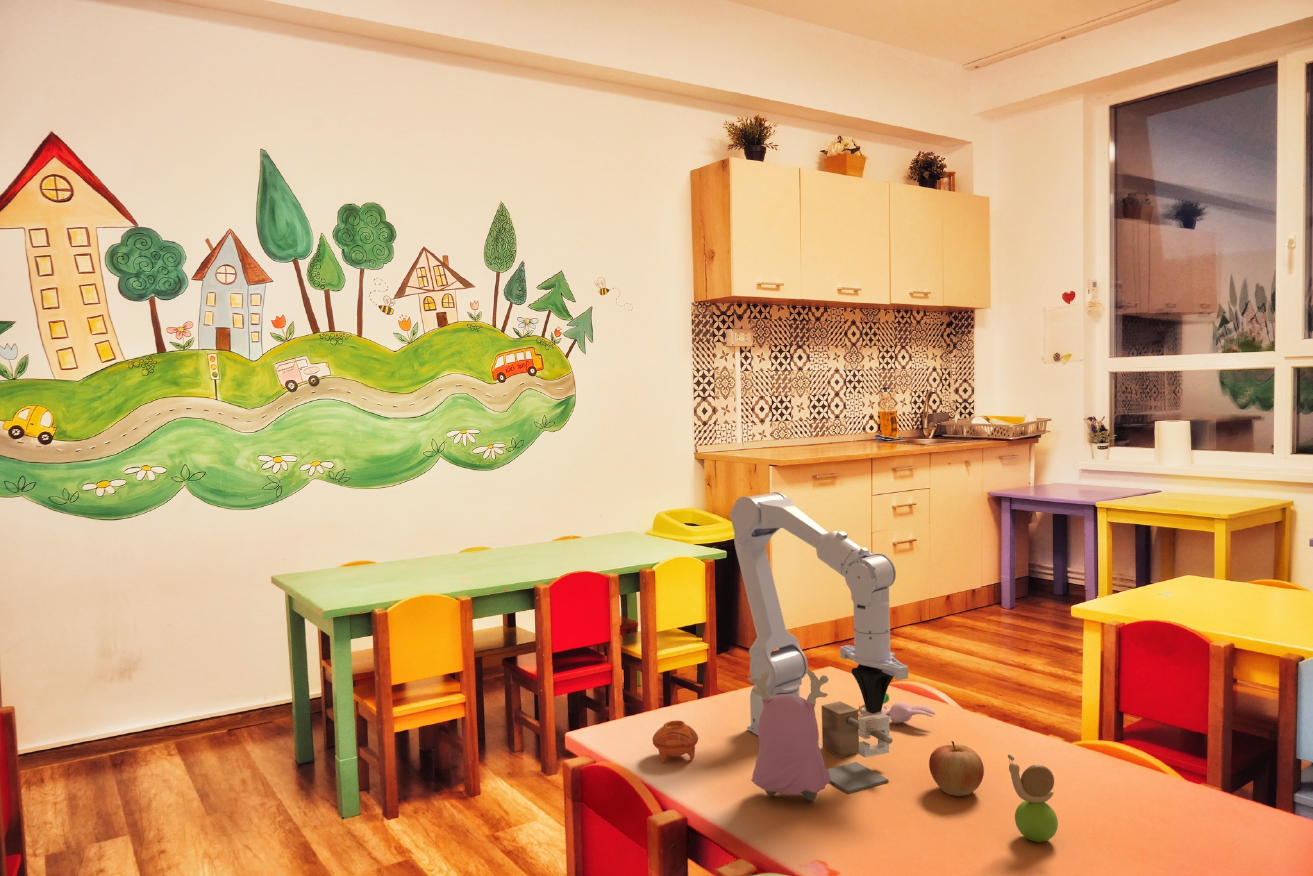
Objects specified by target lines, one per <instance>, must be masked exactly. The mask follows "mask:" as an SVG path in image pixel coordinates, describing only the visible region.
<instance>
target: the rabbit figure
mask: <svg viewBox="0 0 1313 876" xmlns="http://www.w3.org/2000/svg"><path fill="white" fill-rule="evenodd" d="M889 700H890V695H889V694H888V693H887V692H886V694H885V698H884V702H883V705H884V704H887V703H888V702H890V701H889ZM857 709H858V714H861V716H862V717H867V716H872V715H878V714H885V715H887V716H889V717H890V721H891V722H892V723H894V724H895V725H898V724H902V723H907V722H909V721H910V720H911V719H912V716H916V715H924V716H928V717H931V718H933V717H934V715H935V716H936V712H935V711H934V710H933V709H931V708H930V707H928V706H926V705H920V704H919V705H910V703H906V702H903V701H899V702H895V703H894V704H892V705H891V707H890V708H889V707H888V706H887V705H884V706H883V708H882V710H881V712H877V713H873V714H872V713H869V712H867V710H866V707H865V703H864V704H862V705H860V704H858V708H857Z"/></svg>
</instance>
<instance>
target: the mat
mask: <svg viewBox="0 0 1313 876" xmlns="http://www.w3.org/2000/svg"><path fill="white" fill-rule="evenodd" d="M827 770H828V771H829V774H830V778H831V781H830V782H829V784H830V783H831V784H832V785H833V786H835V787H837V788H839V789H840V790H842V791H844V792H845V793H847V794H851V793H854V792H858V791H859V792H860V791H861V790H866V789H868V788H873V787H875V786H876V787H877V786H879V785H883V784H886V783H889V778H886V777H885V776H883V775H881V774H879V773H878V772H875V770H872V769H870V768H868V767H867V766H865V765H864V764H861V763H860V762H858V761H854V762H850V763H846V764H843V765H839V766H836V767H831V768H827Z"/></svg>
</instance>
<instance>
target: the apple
mask: <svg viewBox="0 0 1313 876" xmlns="http://www.w3.org/2000/svg"><path fill="white" fill-rule="evenodd" d="M982 760H983V759H982V758H981V756H979V754H978V753H977V752H976V751H975V750H974V749H973V748H971V747H969V746H967V745H963V744H955V741H953V740H951V744H948V745H947V744H946V745H940V746H938V747H937V748H935V749H934V750H933V751H932V753H931V754H930V757H929V760H928V768H929V771H930V774H931V777H932V779H933V780H934V782H935V783H936V786H938V787H939V788H940V789H941V791H943V792H944V793H945V794H947V795H950V796H956V797H960V796H967V795H970V794H972V793H973V792H975V791H976V790H978V788H979V787H980V785H981V783H982V782H983V778H984V775H985V767H984V764H983V763H984V762H983V761H982Z"/></svg>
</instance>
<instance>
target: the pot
mask: <svg viewBox="0 0 1313 876" xmlns="http://www.w3.org/2000/svg"><path fill="white" fill-rule="evenodd" d="M698 741H699V736H698V734H697V732H696V731H695V730H694V729H693V727H692V726H689V725H688V724H686V723H685V722H684V721H683V720H670V721H667V722H665V723H663V725H662V726H661V727H660V728H659V729H657V730H656V732H655V733H654V735H653V736H652V744H653V746H654V748H656V749H657V750H658V753H659V758H660V760H661V762H662V763H663V762H666V759H667V756H669V757H680V756H683V755H686V754H687V755H688V756H689V758H690V760H691V761H693V760H694V758H695V753H696V745H697V743H698Z"/></svg>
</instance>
